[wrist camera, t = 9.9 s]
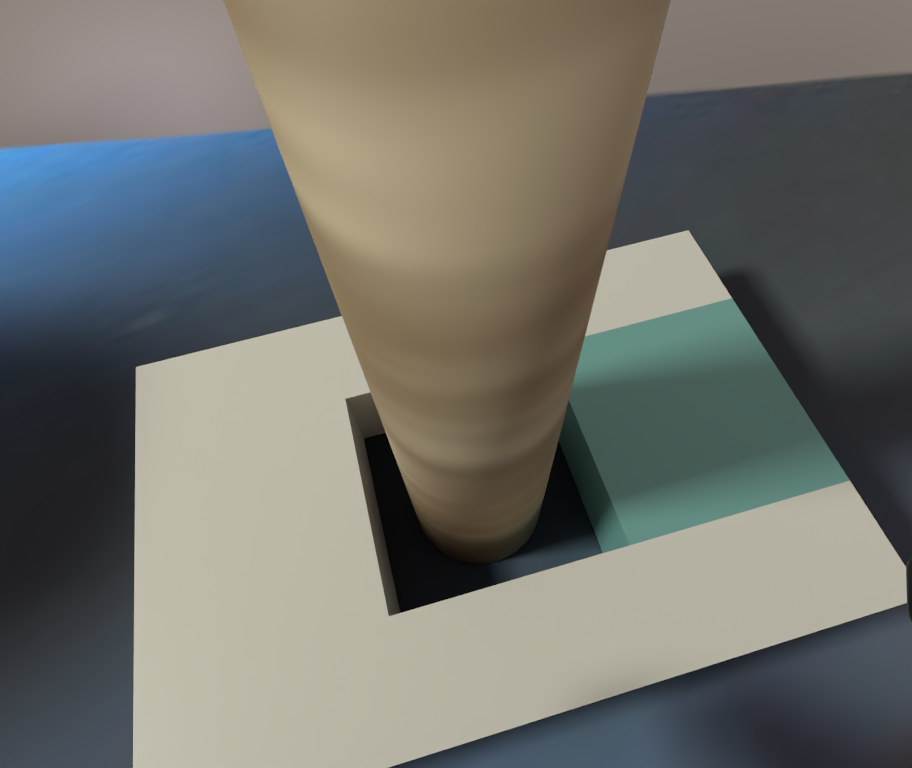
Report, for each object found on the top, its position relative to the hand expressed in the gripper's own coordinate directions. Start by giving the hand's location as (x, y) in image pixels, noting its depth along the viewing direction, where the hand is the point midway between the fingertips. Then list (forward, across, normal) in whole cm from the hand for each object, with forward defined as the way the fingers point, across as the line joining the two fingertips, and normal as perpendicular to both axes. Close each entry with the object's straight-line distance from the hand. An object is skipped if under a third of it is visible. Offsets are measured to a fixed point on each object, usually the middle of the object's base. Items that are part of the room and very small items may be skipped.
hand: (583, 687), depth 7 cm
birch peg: (+9, 0, +2) cm, 9 cm away
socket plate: (+9, 0, +2) cm, 9 cm away
